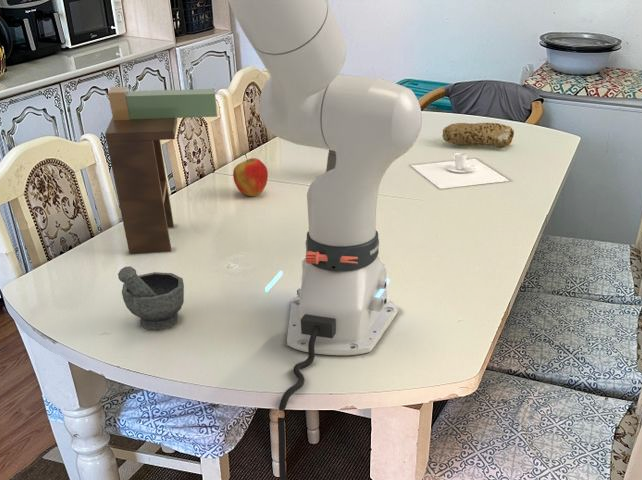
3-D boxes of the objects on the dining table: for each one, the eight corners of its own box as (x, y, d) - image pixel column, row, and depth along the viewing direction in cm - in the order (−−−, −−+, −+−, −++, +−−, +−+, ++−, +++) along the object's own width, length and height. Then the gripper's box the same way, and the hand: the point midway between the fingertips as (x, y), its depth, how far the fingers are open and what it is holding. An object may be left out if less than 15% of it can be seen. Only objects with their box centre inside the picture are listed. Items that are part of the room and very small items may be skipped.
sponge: (511, 146, 214) (450, 126, 217) (518, 123, 208) (456, 102, 212) (499, 166, 205) (436, 144, 208) (506, 142, 199) (441, 120, 203)
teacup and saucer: (481, 173, 188) (482, 158, 186) (454, 176, 185) (455, 160, 183) (467, 163, 195) (468, 149, 193) (441, 166, 192) (441, 151, 190)
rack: (192, 224, 154) (176, 112, 141) (191, 250, 142) (173, 130, 130) (135, 227, 151) (113, 114, 139) (129, 254, 140) (104, 133, 127)
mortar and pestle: (155, 303, 123) (144, 240, 117) (200, 314, 120) (190, 249, 114) (111, 333, 114) (95, 266, 108) (158, 345, 111) (145, 277, 105)
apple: (259, 202, 166) (255, 160, 161) (229, 197, 168) (224, 156, 163) (275, 191, 173) (272, 151, 167) (246, 187, 175) (242, 147, 169)
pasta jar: (217, 110, 143) (214, 84, 140) (217, 117, 138) (214, 89, 136) (116, 114, 139) (111, 86, 136) (113, 120, 135) (107, 92, 132)
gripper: (284, -52, 132) (289, 28, 139) (295, -46, 115) (300, 44, 123) (317, -52, 133) (320, 27, 141) (333, -45, 117) (335, 44, 124)
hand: (311, 35), depth 132 cm, fingers open, 8 cm apart
